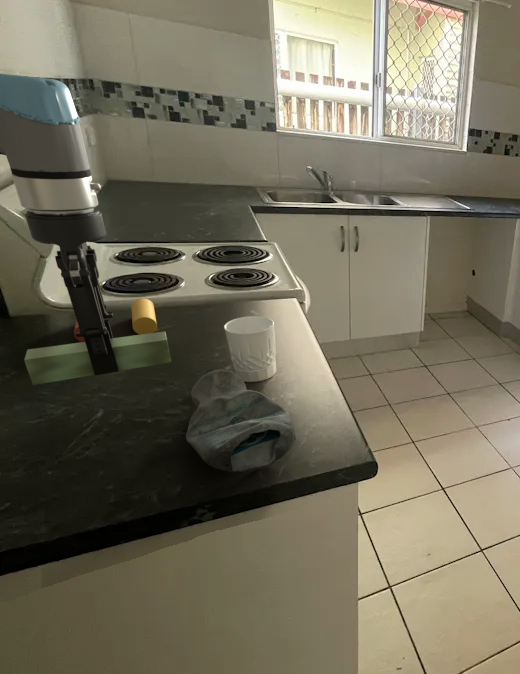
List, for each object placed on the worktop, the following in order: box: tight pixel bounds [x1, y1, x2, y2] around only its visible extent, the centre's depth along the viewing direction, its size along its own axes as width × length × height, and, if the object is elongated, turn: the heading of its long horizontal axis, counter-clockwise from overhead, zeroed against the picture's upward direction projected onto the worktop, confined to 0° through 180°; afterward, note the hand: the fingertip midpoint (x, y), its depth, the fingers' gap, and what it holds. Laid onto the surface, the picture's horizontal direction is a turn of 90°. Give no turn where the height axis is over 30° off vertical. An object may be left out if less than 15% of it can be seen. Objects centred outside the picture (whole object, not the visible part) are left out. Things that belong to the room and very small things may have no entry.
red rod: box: [73, 319, 85, 343], centre depth 96 cm, size 12×4×4 cm, turn 37°
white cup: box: [223, 315, 277, 383], centre depth 86 cm, size 8×8×10 cm
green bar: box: [23, 330, 172, 386], centre depth 71 cm, size 16×4×4 cm, turn 126°
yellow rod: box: [130, 297, 158, 335], centre depth 101 cm, size 12×4×4 cm, turn 37°
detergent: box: [185, 368, 297, 473], centre depth 71 cm, size 13×7×25 cm
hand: (107, 366), depth 72 cm, fingers closed on green bar, 3 cm apart
